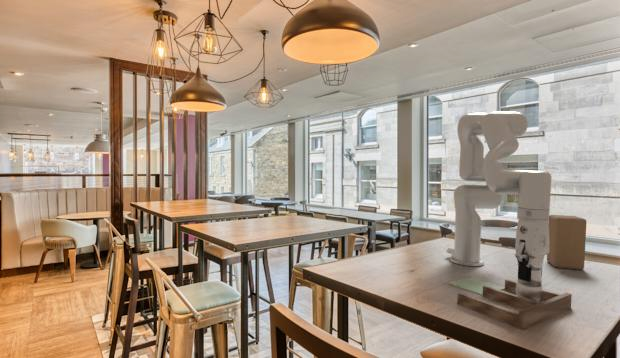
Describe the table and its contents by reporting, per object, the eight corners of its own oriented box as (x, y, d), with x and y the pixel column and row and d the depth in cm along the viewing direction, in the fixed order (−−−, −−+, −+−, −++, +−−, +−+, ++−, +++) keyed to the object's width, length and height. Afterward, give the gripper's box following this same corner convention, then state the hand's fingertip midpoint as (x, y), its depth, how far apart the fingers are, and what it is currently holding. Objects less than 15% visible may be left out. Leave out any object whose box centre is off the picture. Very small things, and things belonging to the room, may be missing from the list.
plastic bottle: (509, 296, 98) (512, 228, 98) (531, 296, 99) (534, 228, 98) (525, 305, 92) (529, 232, 91) (548, 305, 93) (552, 232, 92)
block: (574, 264, 139) (576, 215, 138) (585, 271, 130) (587, 219, 129) (545, 261, 142) (548, 214, 142) (554, 267, 133) (556, 217, 132)
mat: (448, 283, 110) (448, 282, 110) (470, 278, 117) (470, 277, 117) (483, 295, 100) (483, 294, 100) (505, 289, 107) (505, 288, 107)
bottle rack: (457, 303, 94) (457, 289, 93) (506, 288, 107) (507, 276, 107) (523, 329, 79) (524, 312, 79) (570, 308, 93) (571, 293, 92)
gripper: (532, 218, 87) (529, 288, 88) (562, 214, 96) (558, 277, 97) (502, 214, 93) (499, 279, 94) (533, 211, 102) (530, 270, 103)
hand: (529, 277), depth 95 cm, fingers closed on plastic bottle, 5 cm apart
